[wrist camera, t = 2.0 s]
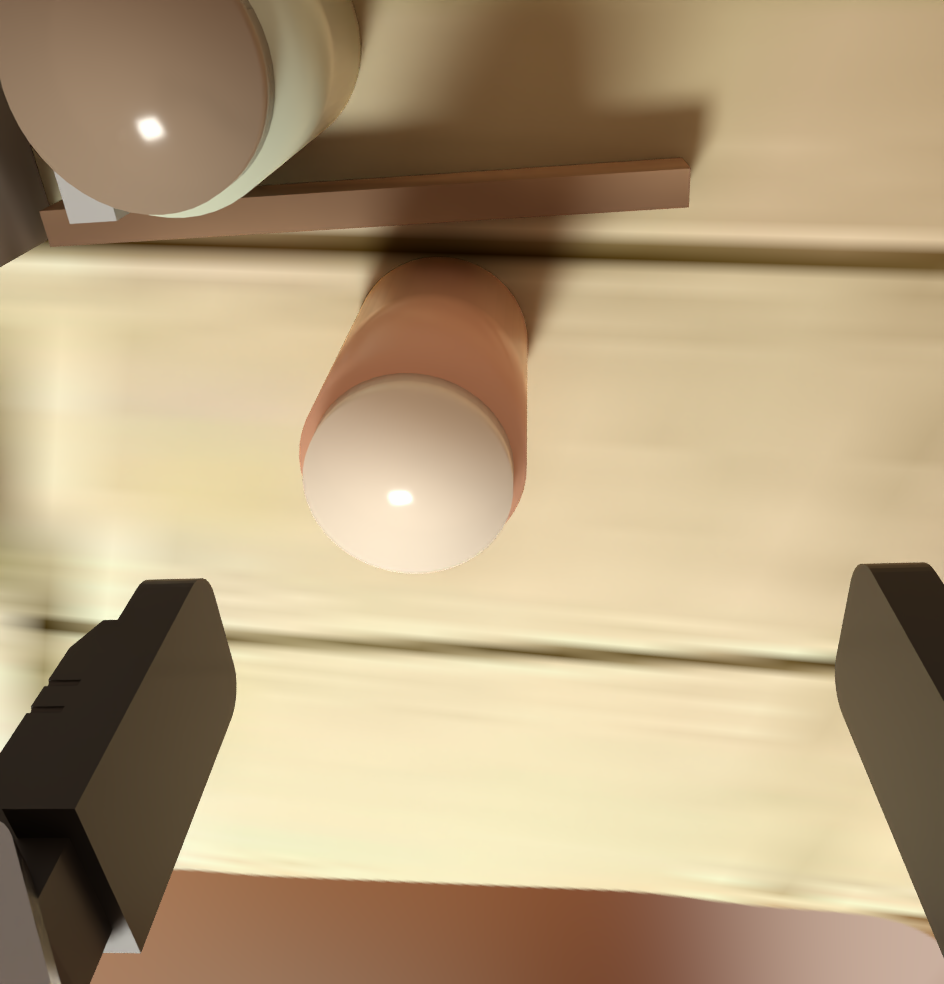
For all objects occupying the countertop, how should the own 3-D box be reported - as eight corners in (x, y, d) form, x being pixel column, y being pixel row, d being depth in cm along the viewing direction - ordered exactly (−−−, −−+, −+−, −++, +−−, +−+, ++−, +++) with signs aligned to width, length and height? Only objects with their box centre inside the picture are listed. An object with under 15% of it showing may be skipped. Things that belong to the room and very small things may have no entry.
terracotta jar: (507, 433, 29) (499, 601, 21) (347, 401, 29) (281, 561, 21) (545, 276, 26) (550, 405, 19) (367, 240, 26) (299, 356, 18)
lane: (680, 194, 25) (704, 231, 22) (26, 236, 27) (-48, 276, 23) (699, -228, 20) (734, -267, 17) (-100, -145, 22) (-218, -166, 18)
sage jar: (348, 165, 25) (268, 255, 17) (159, 126, 25) (-8, 199, 17) (372, -54, 22) (288, -63, 15) (159, -101, 22) (-40, -135, 14)
